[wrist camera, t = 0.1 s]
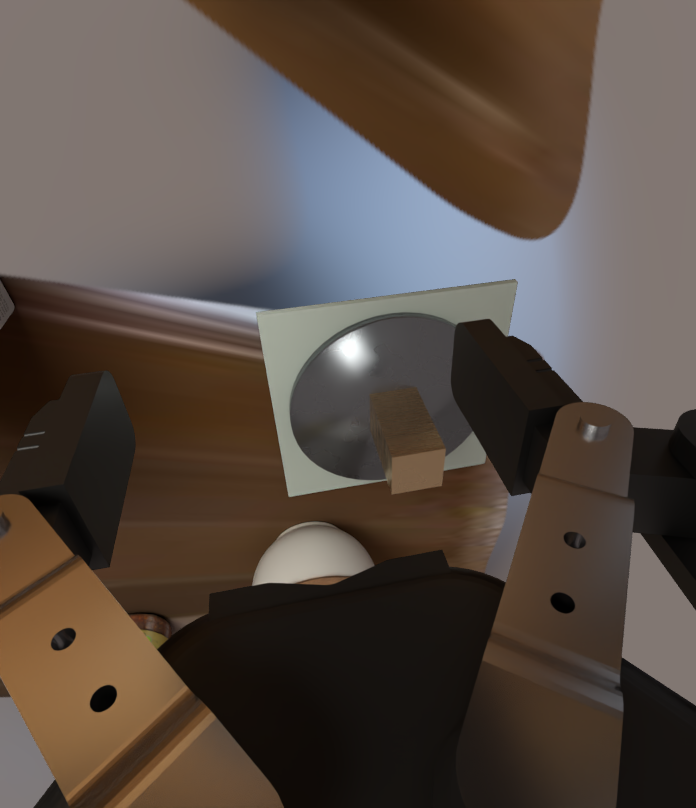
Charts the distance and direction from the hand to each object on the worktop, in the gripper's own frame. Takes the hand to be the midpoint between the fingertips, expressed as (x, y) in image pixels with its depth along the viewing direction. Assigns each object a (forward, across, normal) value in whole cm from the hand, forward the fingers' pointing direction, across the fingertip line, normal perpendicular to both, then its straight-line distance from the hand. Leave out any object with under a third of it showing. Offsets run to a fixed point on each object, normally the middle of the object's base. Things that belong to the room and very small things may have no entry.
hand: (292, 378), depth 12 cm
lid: (+17, -7, +15) cm, 24 cm away
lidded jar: (+19, 0, +30) cm, 35 cm away
